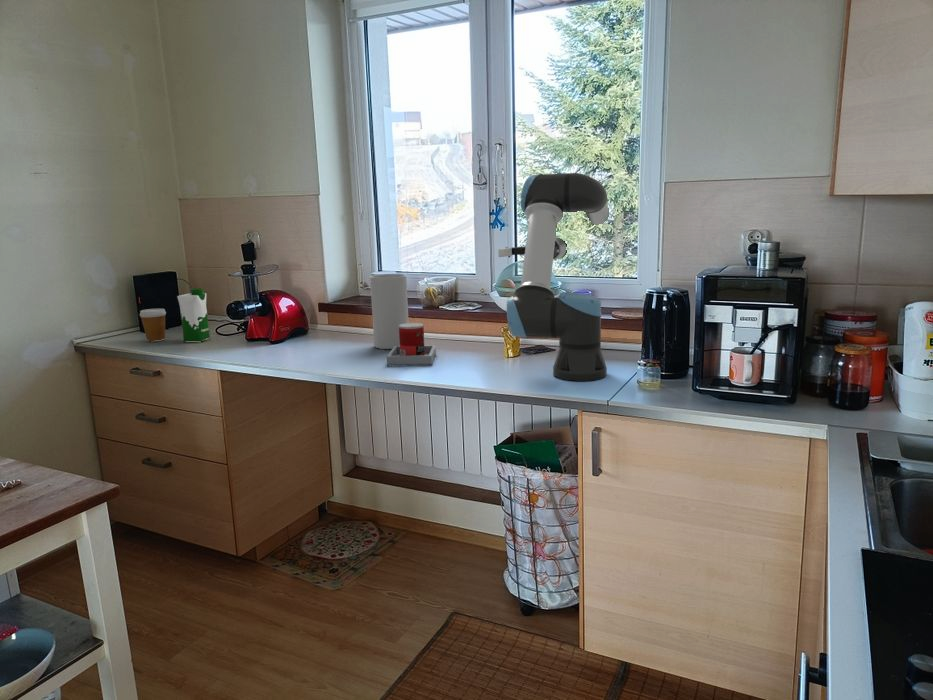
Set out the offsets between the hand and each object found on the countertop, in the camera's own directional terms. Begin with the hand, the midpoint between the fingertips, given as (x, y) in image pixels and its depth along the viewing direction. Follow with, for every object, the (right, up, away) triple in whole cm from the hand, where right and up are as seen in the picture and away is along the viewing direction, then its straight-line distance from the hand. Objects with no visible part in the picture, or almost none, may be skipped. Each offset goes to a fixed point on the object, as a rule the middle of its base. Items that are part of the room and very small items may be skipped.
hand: (515, 253), depth 231 cm
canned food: (-34, -35, -8) cm, 49 cm away
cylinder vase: (-43, -31, +14) cm, 55 cm away
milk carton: (-120, -29, +35) cm, 128 cm away
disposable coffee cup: (-137, -29, +38) cm, 145 cm away
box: (-34, -35, -8) cm, 49 cm away
